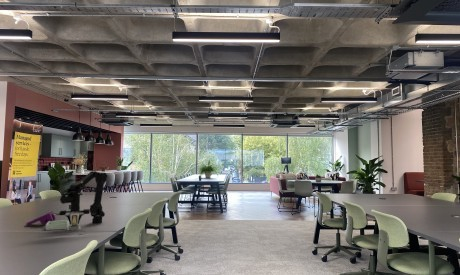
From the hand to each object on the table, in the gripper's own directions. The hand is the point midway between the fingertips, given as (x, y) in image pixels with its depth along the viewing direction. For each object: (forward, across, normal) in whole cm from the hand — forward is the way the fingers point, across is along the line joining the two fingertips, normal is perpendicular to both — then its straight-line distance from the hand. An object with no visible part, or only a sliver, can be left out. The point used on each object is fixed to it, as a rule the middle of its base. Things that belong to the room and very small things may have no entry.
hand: (74, 224), depth 223 cm
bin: (+4, +11, -8) cm, 14 cm away
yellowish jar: (+2, 0, 0) cm, 2 cm away
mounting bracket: (+4, +25, -30) cm, 39 cm away
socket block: (+4, 0, 0) cm, 4 cm away
